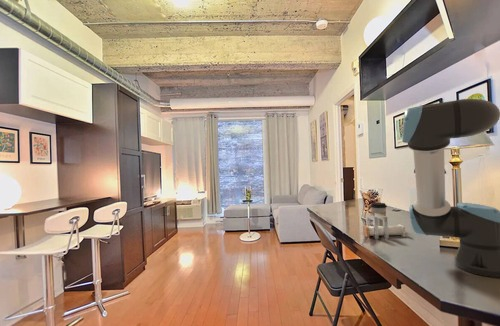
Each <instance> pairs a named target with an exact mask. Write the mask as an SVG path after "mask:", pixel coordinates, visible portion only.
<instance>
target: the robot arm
mask: <svg viewBox="0 0 500 326" xmlns="http://www.w3.org/2000/svg"><path fill="white" fill-rule="evenodd" d="M499 120H500V109H499V107H498V106H497V105H496V104H494V103H493V102H491V101H488V100H486V99H479V98H461V99H455V100H450V101H449V100H448V101H444V102H443V101H442V102H437V103H431V104H424V105H421V104H420V105H418V106H414V107H413V106H412V107H409V108H406V110H405V111H404V113H403V122H402V123H403V125H402V126H403V127H402V140H401V141H402V142H403V143H405V144H407V148H409V149H410V150H412V151H413V162H414V163H413V164H414V170H413V173H414V174H415V189H416V199H415V200H414V201H413V204H411V205H409V212H408V213H409V218H410V223H411V227H412V229H413V231H414V233H416V234H419V235H425V236H434V237H435V236H437V237H445V238H456V239H459V246H458V248H457V252H456V255H455V257H454V264H455V266H456V267H457V268H459V269H461V270H463V271H466V272H468V273H470V274H474V275H478V274H479V276H482V275H484V276H483V277H488V276H490V277H489V278H496V277H500V210H499V209H498V208H496V207H493V206H490V205H484V204H480V203H479V204H478V203H471V202H470V203H469V202H457V204H456V206H451V204H450V203H449V201H448V200H446V177H445V175H446V174H447V171H446V168H445V166H446V165H445V149H446V148H447V147H449V146H450V145H451V139H459V138H460V139H461V138H466V137H472V136H475V135H479V134H482V133H484V132H487V131H489V130H490V129H492V128H493V127H495V126H496V125H497V124H498V122H499Z"/></svg>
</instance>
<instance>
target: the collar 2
mask: <svg viewBox="0 0 500 326" xmlns="http://www.w3.org/2000/svg"><path fill="white" fill-rule="evenodd" d="M375 216H376V217H377V220H378V226H380V223H379V218H380V219H382V220H383V232H384V235H383V239H385V240H386V239H387V240H388V239H389V238H390V237H389V235H388V226H389V224H388V216H387V215H386V216H384V215H382V214H379V213H375Z"/></svg>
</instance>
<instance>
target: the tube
mask: <svg viewBox="0 0 500 326" xmlns="http://www.w3.org/2000/svg"><path fill="white" fill-rule="evenodd" d="M362 234H363V236H364V237H366V238H370V237H371V236H373V237H374V227H373V226H366V224H363V225H362ZM378 236H384V232H383V226H378ZM388 236H401V237H403V238H404V237H406V226H405V225H402V224H400V223H399V224H396V225H388Z"/></svg>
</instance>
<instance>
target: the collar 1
mask: <svg viewBox="0 0 500 326" xmlns="http://www.w3.org/2000/svg"><path fill="white" fill-rule="evenodd" d="M371 220H372V225H373V227H374V236H373V238H374V239H375V240H378V239H379V236H378V220H377V217H376V216H374V215H372V213H370V212H366V213H365V226H371Z"/></svg>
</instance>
